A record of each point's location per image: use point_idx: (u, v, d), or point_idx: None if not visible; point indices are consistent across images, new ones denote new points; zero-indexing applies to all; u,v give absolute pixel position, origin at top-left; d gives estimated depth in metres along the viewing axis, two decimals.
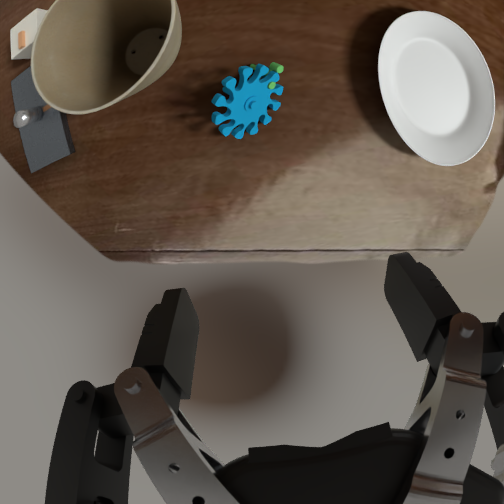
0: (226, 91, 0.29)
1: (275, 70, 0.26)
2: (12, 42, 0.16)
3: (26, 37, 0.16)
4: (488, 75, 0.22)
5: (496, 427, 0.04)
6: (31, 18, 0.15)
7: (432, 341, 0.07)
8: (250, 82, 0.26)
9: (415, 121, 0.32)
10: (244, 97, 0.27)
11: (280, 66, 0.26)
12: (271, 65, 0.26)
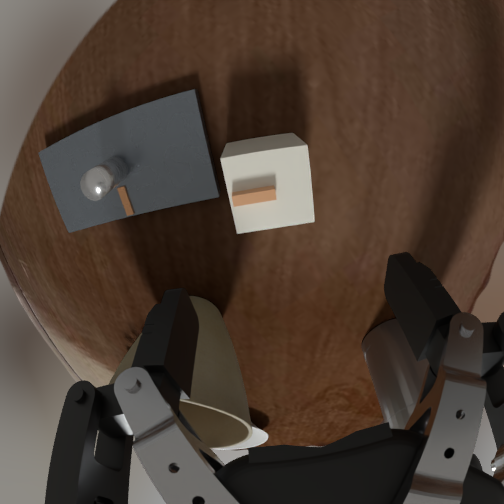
0: None
1: None
2: (265, 156, 0.18)
3: (254, 202, 0.20)
4: (243, 447, 0.60)
5: (496, 427, 0.04)
6: (297, 211, 0.20)
7: (432, 341, 0.07)
8: None
9: None
10: None
11: None
12: None
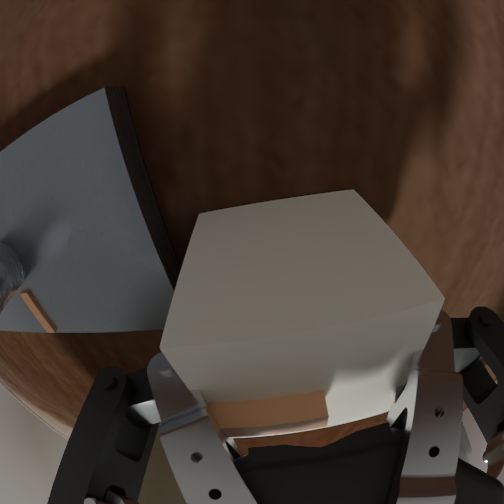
0: None
1: None
2: (314, 343, 0.05)
3: None
4: None
5: (482, 422, 0.04)
6: (362, 410, 0.07)
7: None
8: None
9: None
10: None
11: None
12: None
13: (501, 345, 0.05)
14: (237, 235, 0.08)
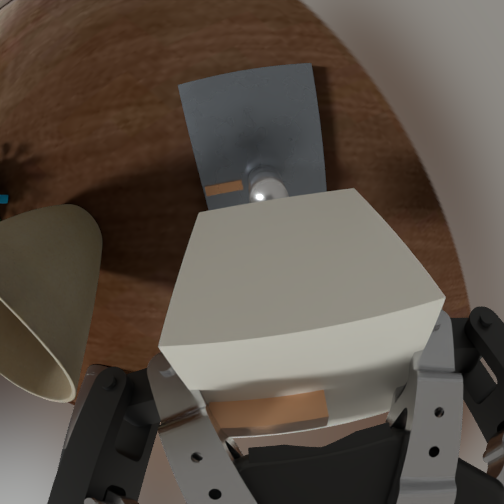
0: (1, 199, 0.20)
1: None
2: (314, 342, 0.05)
3: None
4: None
5: (482, 422, 0.04)
6: (362, 410, 0.07)
7: None
8: None
9: None
10: None
11: None
12: None
13: (501, 345, 0.05)
14: (237, 234, 0.08)
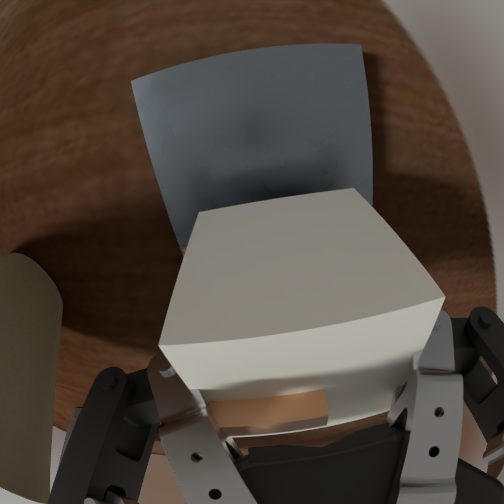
0: None
1: None
2: (314, 341, 0.05)
3: None
4: None
5: (482, 422, 0.04)
6: (362, 409, 0.07)
7: None
8: None
9: None
10: None
11: None
12: None
13: (501, 345, 0.05)
14: (237, 233, 0.08)
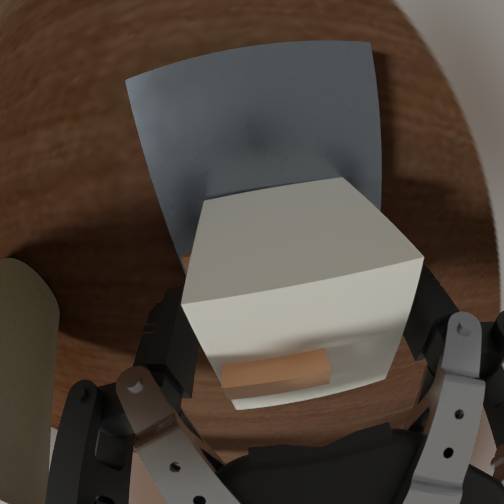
0: None
1: None
2: (315, 295, 0.06)
3: None
4: None
5: (495, 427, 0.04)
6: (360, 375, 0.08)
7: (430, 341, 0.07)
8: None
9: None
10: None
11: None
12: None
13: None
14: (241, 215, 0.09)
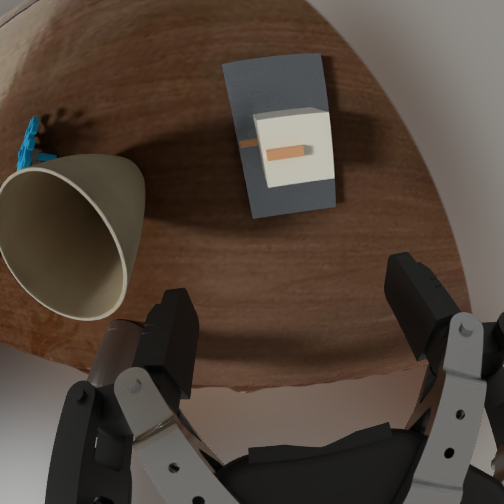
0: (50, 157, 0.26)
1: None
2: (295, 120, 0.20)
3: (284, 159, 0.22)
4: None
5: (496, 427, 0.04)
6: (320, 168, 0.22)
7: (432, 341, 0.07)
8: None
9: None
10: (21, 162, 0.23)
11: None
12: None
13: None
14: (270, 113, 0.23)
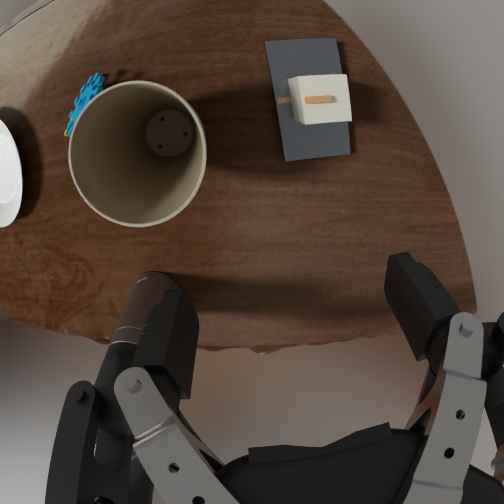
0: None
1: (68, 130, 0.31)
2: (323, 78, 0.26)
3: (316, 104, 0.27)
4: None
5: (496, 427, 0.04)
6: (341, 112, 0.28)
7: (432, 341, 0.07)
8: None
9: None
10: (82, 108, 0.28)
11: (64, 134, 0.31)
12: None
13: None
14: None
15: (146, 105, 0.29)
